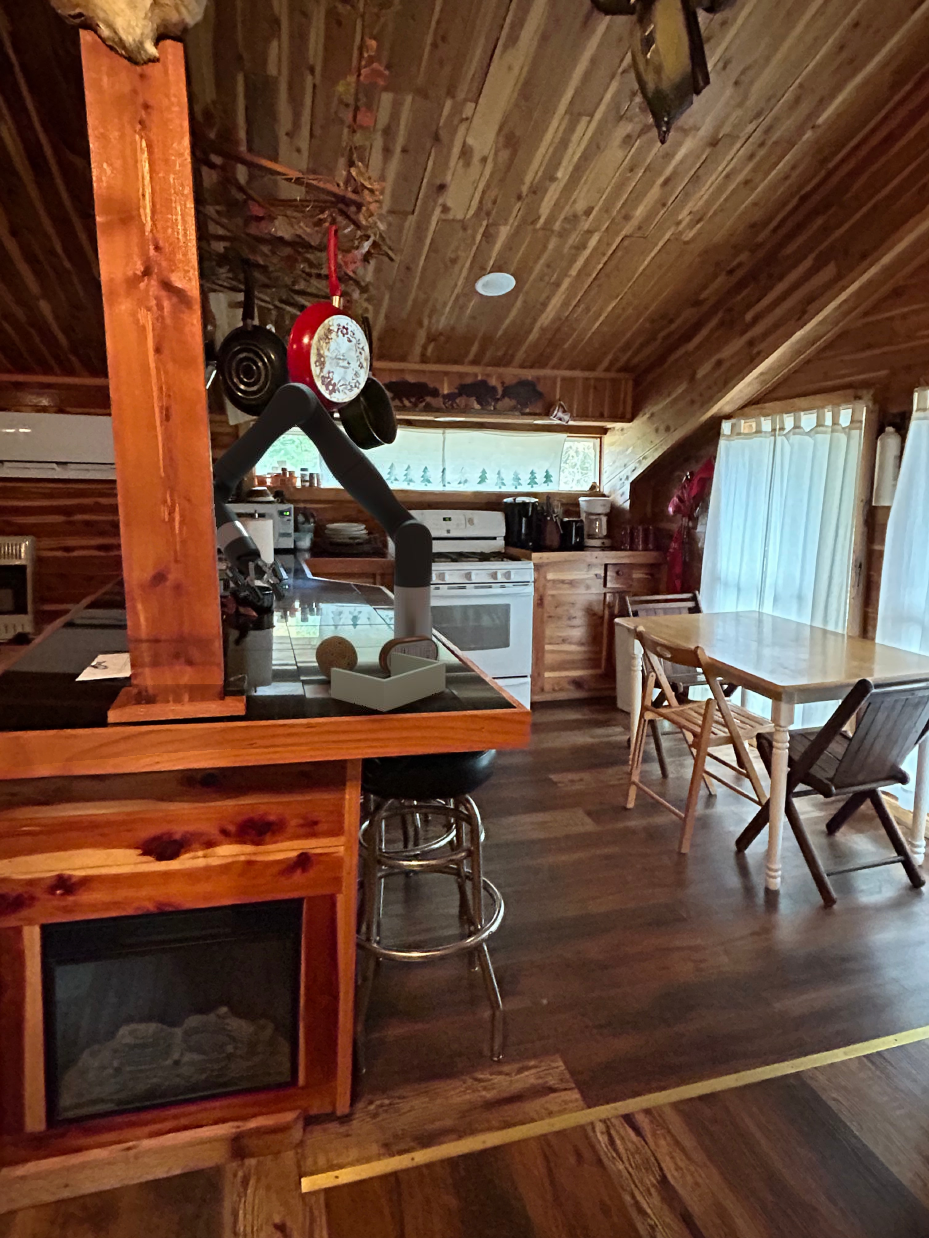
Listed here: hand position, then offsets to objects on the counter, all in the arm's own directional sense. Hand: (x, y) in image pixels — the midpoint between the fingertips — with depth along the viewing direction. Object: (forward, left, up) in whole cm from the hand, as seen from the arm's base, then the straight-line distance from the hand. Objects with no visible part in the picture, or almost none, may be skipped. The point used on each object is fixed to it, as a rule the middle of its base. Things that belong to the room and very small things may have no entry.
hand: (271, 600), depth 175 cm
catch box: (0, +36, -15) cm, 40 cm away
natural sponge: (0, +21, -16) cm, 26 cm away
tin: (-15, +29, -16) cm, 36 cm away
